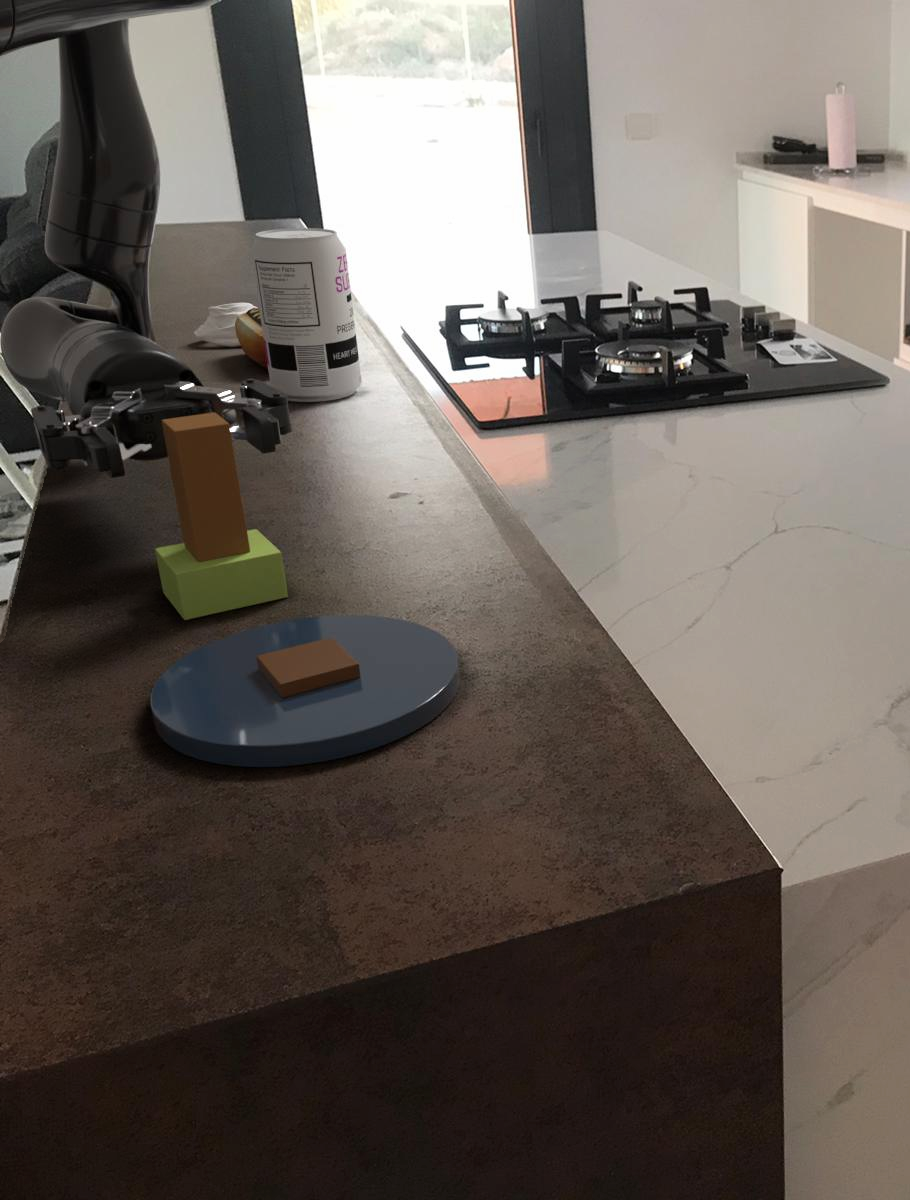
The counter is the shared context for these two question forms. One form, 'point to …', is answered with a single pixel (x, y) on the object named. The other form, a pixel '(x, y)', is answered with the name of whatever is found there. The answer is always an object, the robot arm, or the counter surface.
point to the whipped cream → (222, 324)
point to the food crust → (308, 667)
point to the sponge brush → (213, 527)
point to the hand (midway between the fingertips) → (194, 448)
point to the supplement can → (306, 313)
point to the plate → (304, 693)
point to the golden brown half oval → (251, 336)
